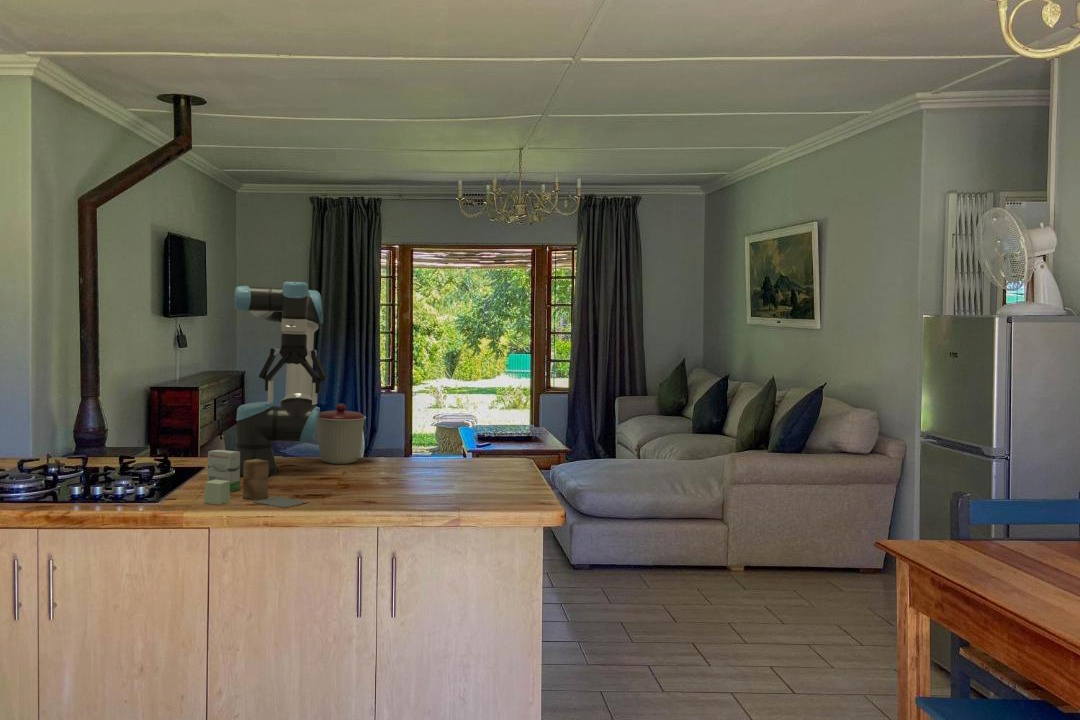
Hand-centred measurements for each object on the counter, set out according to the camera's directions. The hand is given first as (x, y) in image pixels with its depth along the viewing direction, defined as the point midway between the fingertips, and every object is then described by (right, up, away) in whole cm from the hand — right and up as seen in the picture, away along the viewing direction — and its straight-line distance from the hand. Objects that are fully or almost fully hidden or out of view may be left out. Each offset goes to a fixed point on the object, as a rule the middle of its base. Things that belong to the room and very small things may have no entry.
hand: (292, 403), depth 311 cm
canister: (+3, -24, +58) cm, 63 cm away
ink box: (-21, -26, 0) cm, 34 cm away
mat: (0, -28, -15) cm, 32 cm away
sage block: (-17, -28, -18) cm, 37 cm away
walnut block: (-8, -27, -10) cm, 30 cm away
